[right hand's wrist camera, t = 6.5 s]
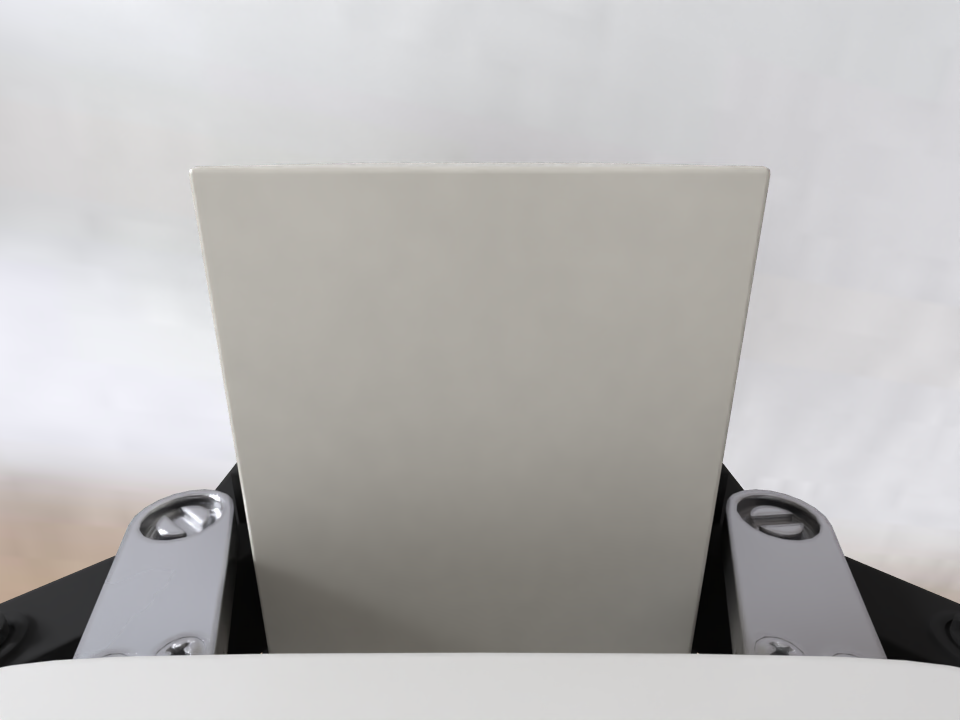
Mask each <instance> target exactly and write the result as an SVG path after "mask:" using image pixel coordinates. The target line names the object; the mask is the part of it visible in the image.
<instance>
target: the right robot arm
mask: <svg viewBox="0 0 960 720" xmlns="http://www.w3.org/2000/svg"><path fill="white" fill-rule="evenodd" d="M260 653H262V654H260ZM697 653H699V654H697ZM0 720H960V604H958V603H956V602H954V601H951V600H949V599H946V598H944V597H942V596H939V595H937V594H935V593H932V592H930V591H927V590H925V589H923V588H920V587H918V586H915V585H913V584H911V583H908V582H906V581H903V580H901V579H899V578H896V577H894V576H891V575H889V574H887V573H884V572H882V571H879V570H877V569H875V568H872V567H870V566H867V565H865V564H863V563H860V562H858V561H855V560H853V559H851V558H848V557H846V556H844V554H843V552H842V549H841V547H840V544H839V542H838V540H837V537H836V535H835V532H834V530H833V528H832V525H831V524H830V522H829V521H828V519H827V518H826V517H825V516H824V515H823V514H822V513H821V512H819V511H818V510H817V509H816V508H815V507H813V506H811V505H809V504H807V503H806V502H804V501H802V500H800V499H797V498H794V497H792V496H789V495H786V494H783V493H778V492H774V491H769V490H757V489H754V490H743V488H742V487H741V486H740V484H739V483H738V482H737V481H736V479H735V478H734V477H733V476H732V474H731V473H730V472H729V471H728V469H727V468H726V467H725V465H724V464H723V463H722V468H721V474H720V480H719V486H718V492H717V498H716V504H715V510H714V516H713V522H712V528H711V535H710V541H709V547H708V553H707V559H706V565H705V571H704V577H703V583H702V589H701V595H700V601H699V607H698V613H697V619H696V625H695V631H694V637H693V643H692V649H691V654H654V653H306V654H269V651H268V645H267V639H266V633H265V627H264V621H263V615H262V609H261V603H260V597H259V591H258V585H257V579H256V573H255V567H254V561H253V555H252V549H251V543H250V537H249V531H248V525H247V519H246V513H245V507H244V501H243V495H242V489H241V483H240V477H239V471H238V465H237V463H236V464H235V466H234V467H233V468H232V469H231V471H230V472H229V473H228V474H227V476H226V477H225V478H224V480H223V481H222V482H221V483H220V485H219V486H218V487H217V488H216V490H206V489H203V490H191V491H186V492H182V493H177V494H173V495H171V496H168V497H166V498H163V499H160V500H158V501H156V502H154V503H153V504H151V505H149V506H147V507H145V508H144V509H143V510H142V511H141V512H139V513H138V514H137V515H136V516H135V517H134V518H133V519H132V521H131V522H130V524H129V525H128V528H127V530H126V532H125V535H124V537H123V540H122V542H121V544H120V547H119V549H118V552H117V554H116V556H113V557H111V558H109V559H106V560H104V561H101V562H99V563H97V564H94V565H92V566H89V567H87V568H85V569H82V570H80V571H78V572H75V573H73V574H70V575H68V576H66V577H63V578H61V579H58V580H56V581H54V582H51V583H49V584H46V585H44V586H42V587H39V588H37V589H34V590H32V591H30V592H27V593H25V594H23V595H20V596H18V597H15V598H13V599H11V600H8V601H6V602H3V603H1V604H0Z"/></svg>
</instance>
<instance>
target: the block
mask: <svg viewBox="0 0 960 720" xmlns="http://www.w3.org/2000/svg"><path fill="white" fill-rule="evenodd" d="M189 178H190V184H191V190H192V196H193V202H194V208H195V214H196V220H197V226H198V232H199V238H200V244H201V250H202V256H203V262H204V268H205V274H206V280H207V286H208V291H209V297H210V303H211V309H212V315H213V321H214V327H215V333H216V339H217V345H218V351H219V357H220V363H221V369H222V375H223V381H224V387H225V393H226V399H227V405H228V411H229V417H230V423H231V429H232V435H233V441H234V447H235V453H236V459H237V465H238V471H239V477H240V483H241V489H242V495H243V501H244V507H245V513H246V519H247V525H248V531H249V537H250V543H251V549H252V555H253V561H254V567H255V573H256V579H257V585H258V591H259V597H260V603H261V609H262V615H263V621H264V627H265V633H266V639H267V645H268V651H269V654H306V653H654V654H691V649H692V643H693V637H694V631H695V625H696V619H697V613H698V607H699V601H700V595H701V589H702V583H703V577H704V571H705V565H706V559H707V553H708V547H709V541H710V535H711V528H712V522H713V516H714V510H715V504H716V498H717V492H718V486H719V480H720V474H721V468H722V462H723V456H724V450H725V444H726V438H727V432H728V426H729V420H730V414H731V408H732V402H733V396H734V390H735V384H736V378H737V372H738V366H739V360H740V354H741V348H742V342H743V336H744V330H745V324H746V318H747V312H748V306H749V300H750V294H751V287H752V281H753V275H754V269H755V263H756V257H757V251H758V245H759V239H760V233H761V227H762V221H763V215H764V209H765V203H766V197H767V191H768V185H769V179H770V170H769V169H768V168H766V167H764V166H726V165H679V164H631V163H332V164H286V165H241V166H196V167H194V168H191V169H190V171H189Z"/></svg>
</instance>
